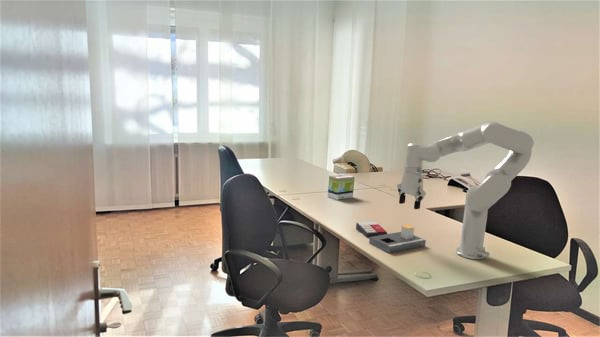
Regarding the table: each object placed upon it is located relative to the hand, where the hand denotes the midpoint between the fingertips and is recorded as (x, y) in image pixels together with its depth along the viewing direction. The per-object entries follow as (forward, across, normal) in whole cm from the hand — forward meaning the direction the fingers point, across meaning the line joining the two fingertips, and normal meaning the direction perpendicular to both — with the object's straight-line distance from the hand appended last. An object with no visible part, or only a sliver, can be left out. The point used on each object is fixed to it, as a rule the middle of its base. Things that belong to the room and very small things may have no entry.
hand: (409, 206), depth 197 cm
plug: (+18, 0, 0) cm, 18 cm away
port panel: (+19, 0, +6) cm, 19 cm away
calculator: (+20, +19, +5) cm, 28 cm away
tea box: (+20, +86, -23) cm, 91 cm away
